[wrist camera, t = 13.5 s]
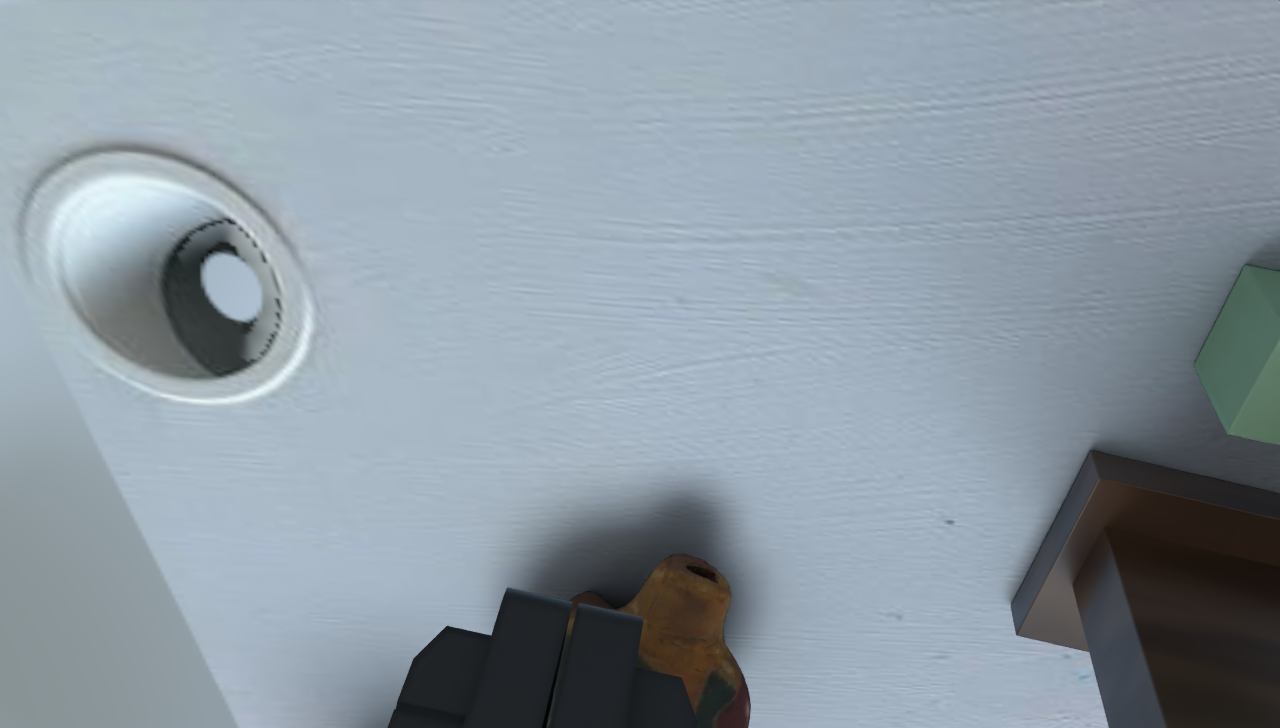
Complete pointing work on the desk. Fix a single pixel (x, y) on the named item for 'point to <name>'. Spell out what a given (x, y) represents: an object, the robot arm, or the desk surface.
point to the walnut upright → (1164, 594)
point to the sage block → (1246, 358)
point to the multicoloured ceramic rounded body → (684, 638)
